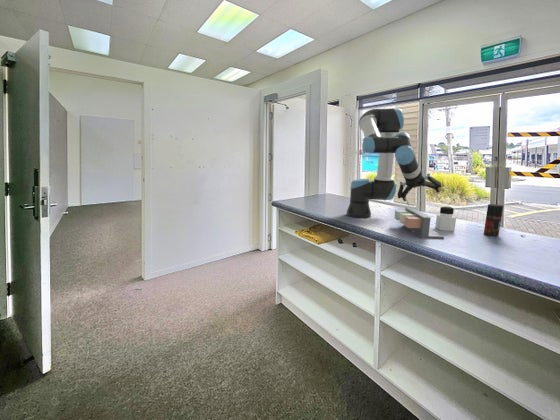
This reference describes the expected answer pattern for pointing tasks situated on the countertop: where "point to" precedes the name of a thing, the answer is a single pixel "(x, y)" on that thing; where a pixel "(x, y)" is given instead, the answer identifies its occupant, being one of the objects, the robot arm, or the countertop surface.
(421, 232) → the grey slotted block
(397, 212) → the sage key
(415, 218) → the terracotta key
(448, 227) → the medicine bottle
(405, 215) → the cream key
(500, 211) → the deodorant
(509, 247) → the countertop surface
